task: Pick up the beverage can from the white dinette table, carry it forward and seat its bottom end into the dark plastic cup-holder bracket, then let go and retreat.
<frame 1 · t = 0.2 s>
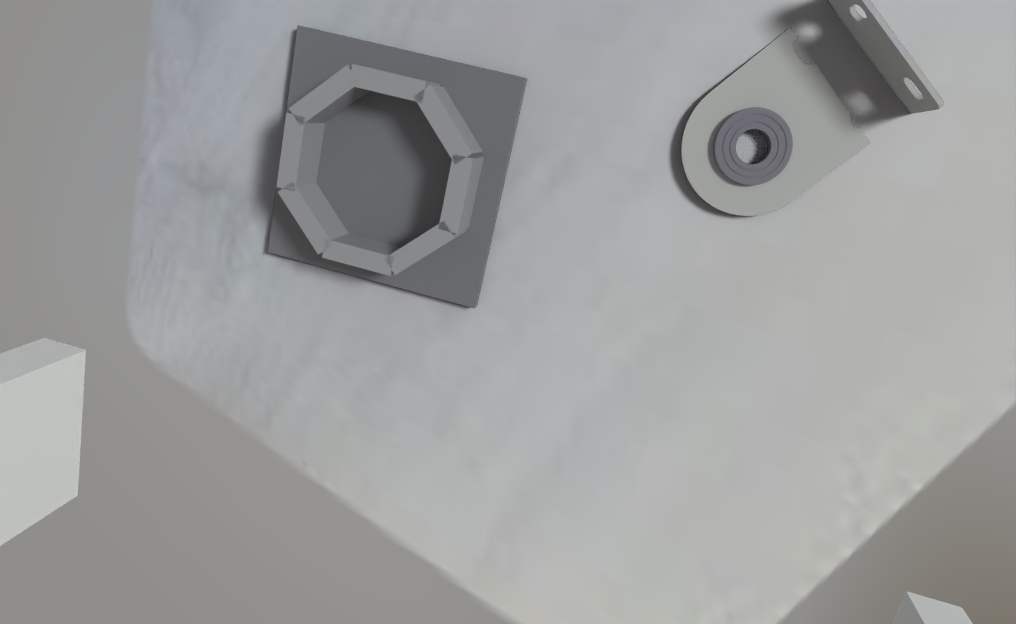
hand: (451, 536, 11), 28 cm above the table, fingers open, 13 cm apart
cup holder: (392, 169, 38), on the table
bracket: (794, 118, 35), on the table
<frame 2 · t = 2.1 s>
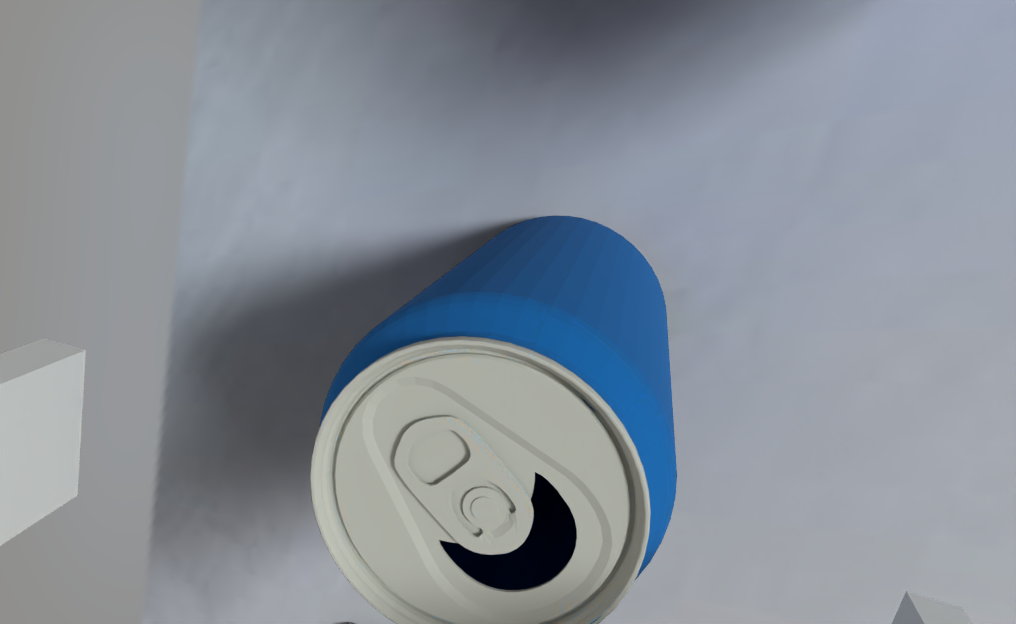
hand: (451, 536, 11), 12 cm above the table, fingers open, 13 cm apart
beverage can: (562, 312, 23), on the table
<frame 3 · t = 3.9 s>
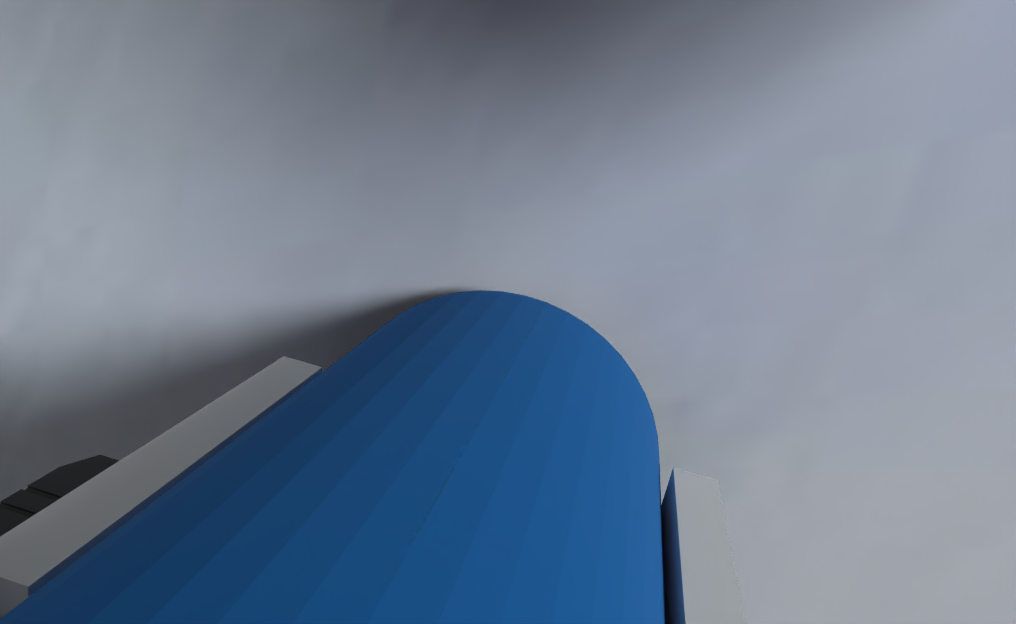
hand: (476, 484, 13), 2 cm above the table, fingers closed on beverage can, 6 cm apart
beverage can: (501, 430, 15), on the table, touching gripper
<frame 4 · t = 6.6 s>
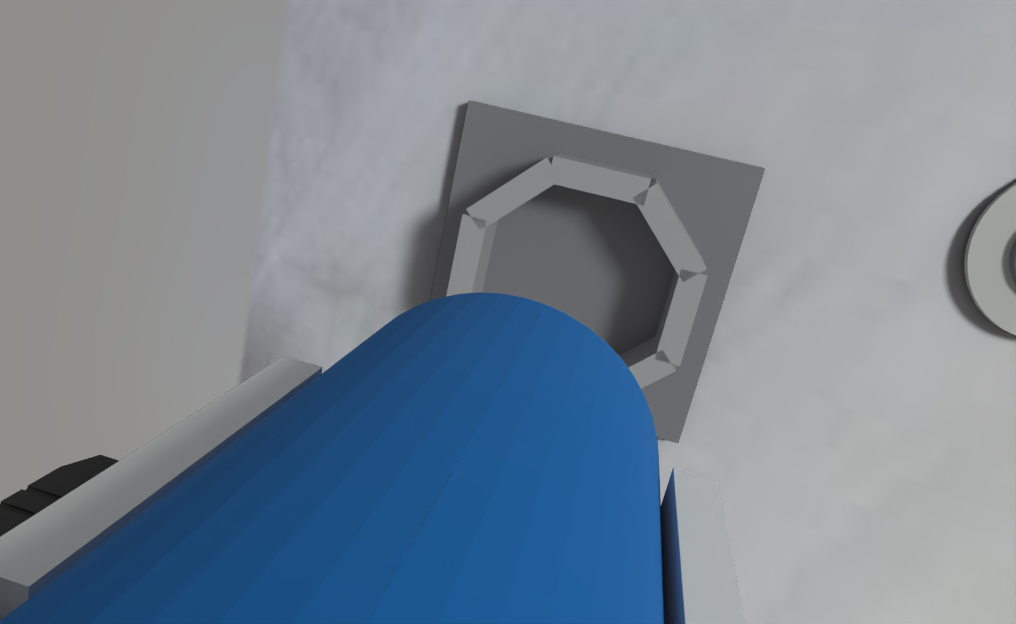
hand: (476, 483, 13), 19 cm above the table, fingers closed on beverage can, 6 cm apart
cup holder: (578, 274, 31), on the table
beverage can: (500, 432, 15), point 17 cm above the table, touching gripper
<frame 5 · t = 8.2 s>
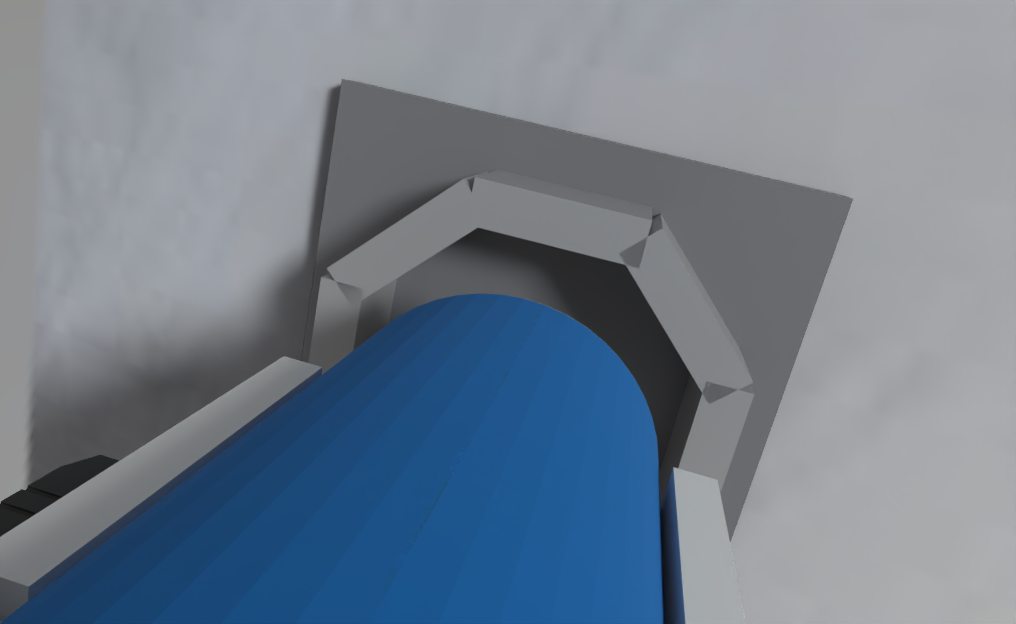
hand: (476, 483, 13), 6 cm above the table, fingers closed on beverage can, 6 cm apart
cup holder: (531, 367, 19), on the table
beverage can: (500, 433, 15), point 4 cm above the table, touching gripper
when the fingers open (4 cm above the table, at t = 9.3 s): beverage can drops 2 cm, resting on cup holder.
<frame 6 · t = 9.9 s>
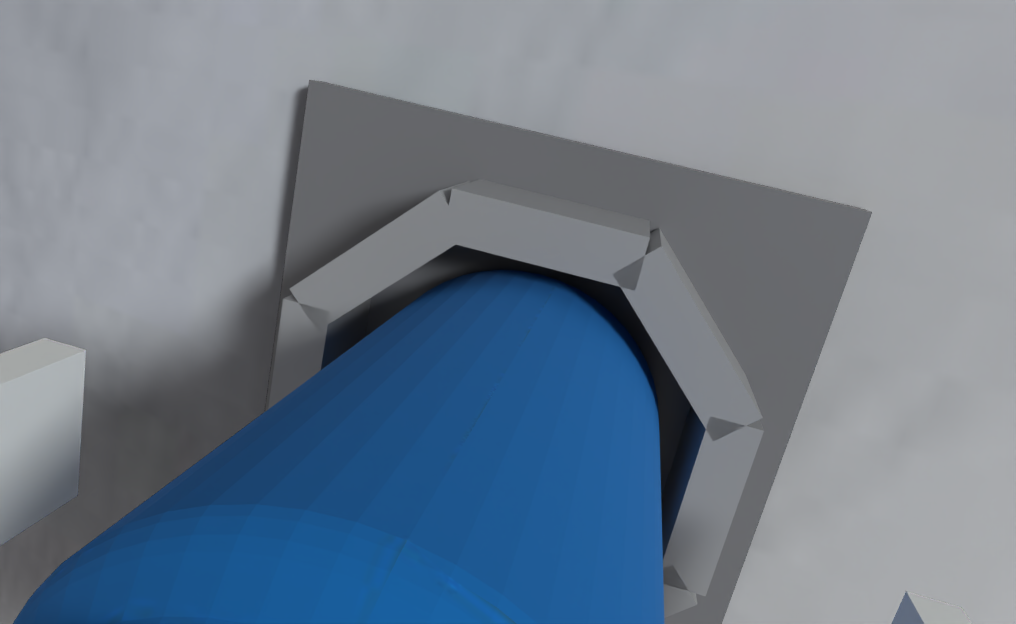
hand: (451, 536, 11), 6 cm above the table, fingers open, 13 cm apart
cup holder: (518, 394, 17), on the table
beverage can: (516, 397, 17), resting on cup holder
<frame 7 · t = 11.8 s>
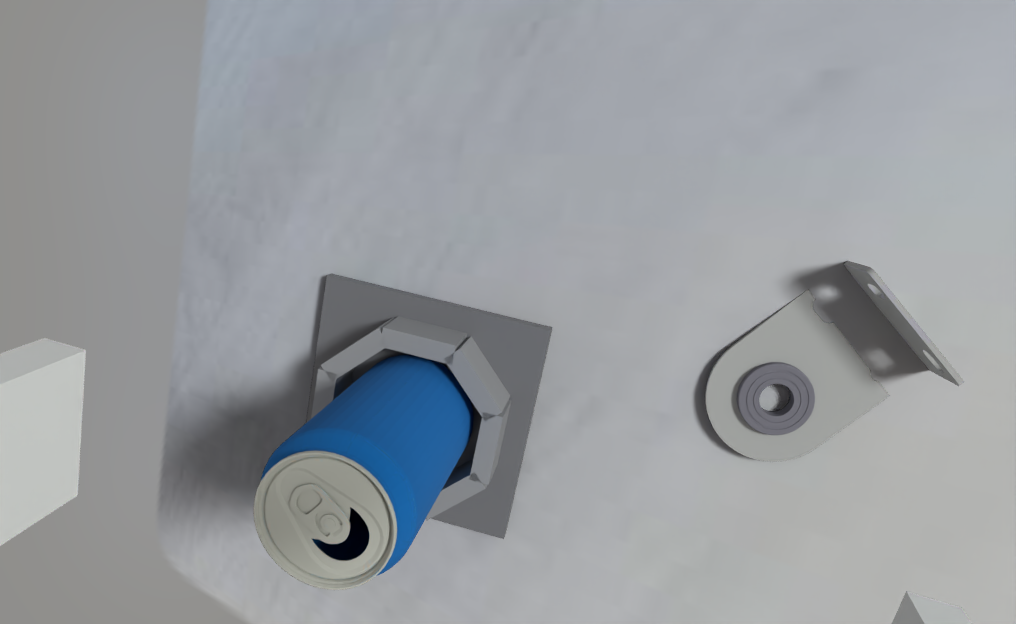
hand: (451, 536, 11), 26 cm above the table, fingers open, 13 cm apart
cup holder: (420, 406, 39), on the table
beverage can: (418, 407, 39), resting on cup holder
bracket: (815, 367, 36), on the table
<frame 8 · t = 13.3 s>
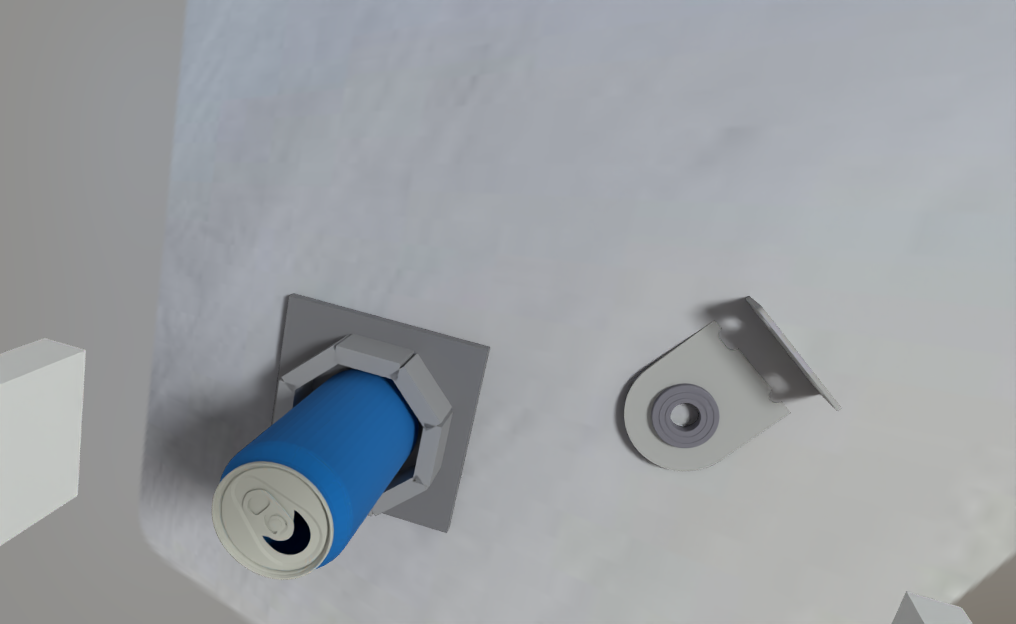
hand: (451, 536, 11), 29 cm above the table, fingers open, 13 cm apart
cup holder: (373, 413, 43), on the table
beverage can: (371, 414, 43), resting on cup holder
bracket: (722, 388, 40), on the table
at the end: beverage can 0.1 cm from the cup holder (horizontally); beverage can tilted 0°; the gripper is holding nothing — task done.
